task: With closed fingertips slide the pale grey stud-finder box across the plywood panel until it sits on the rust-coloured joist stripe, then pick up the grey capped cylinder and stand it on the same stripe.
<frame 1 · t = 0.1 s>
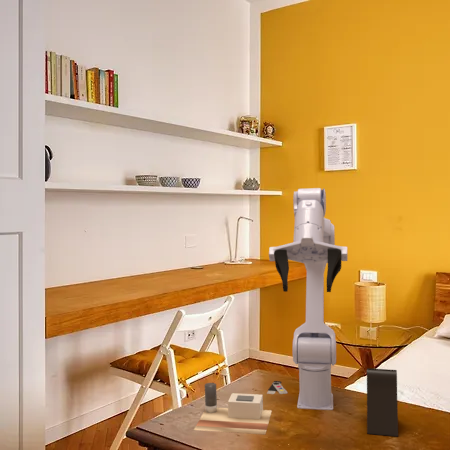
hand: (306, 288, 95), 32 cm above the table, tool tilted 50°, fingers open, 7 cm apart
phone stand: (382, 427, 111), on the table
panel: (234, 421, 115), on the table
grey capped cylinder: (211, 410, 120), resting on panel
usb flash drive: (280, 391, 133), on the table
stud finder: (245, 413, 118), resting on panel
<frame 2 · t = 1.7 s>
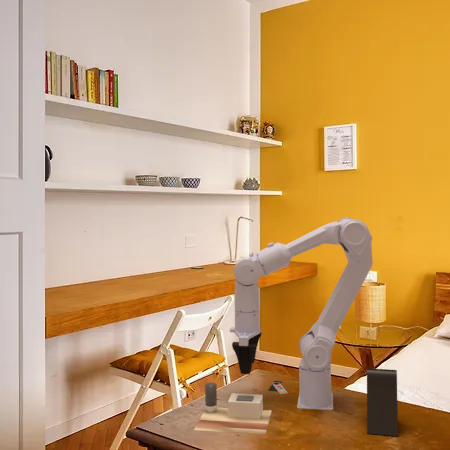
hand: (247, 368, 124), 9 cm above the table, tool pointing down, fingers open, 7 cm apart
nothing on the table moved.
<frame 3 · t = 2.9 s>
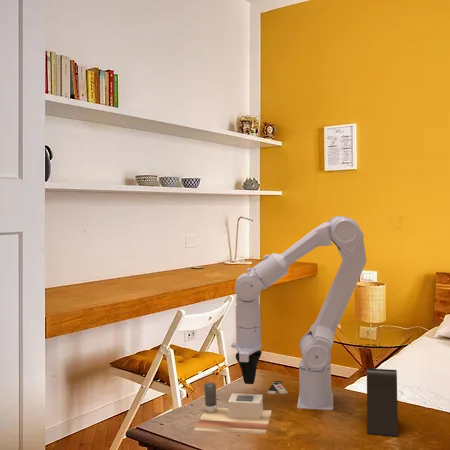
hand: (249, 383, 124), 5 cm above the table, tool pointing down, fingers closed
nothing on the table moved.
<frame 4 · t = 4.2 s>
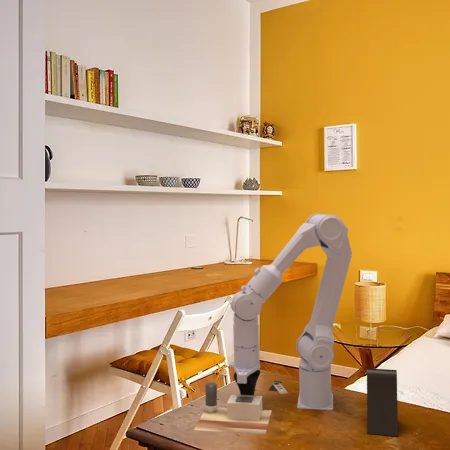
hand: (247, 403, 121), 1 cm above the table, tool pointing down, fingers closed
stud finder: (245, 414, 118), resting on panel, touching gripper
everything else where it was.
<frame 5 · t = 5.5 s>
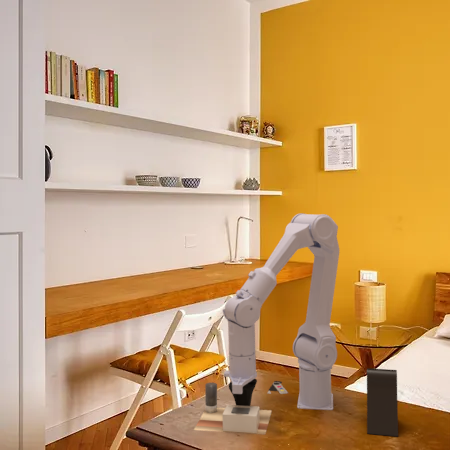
hand: (243, 414, 115), 1 cm above the table, tool pointing down, fingers closed
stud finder: (241, 426, 112), resting on panel, touching gripper
everything else where it was.
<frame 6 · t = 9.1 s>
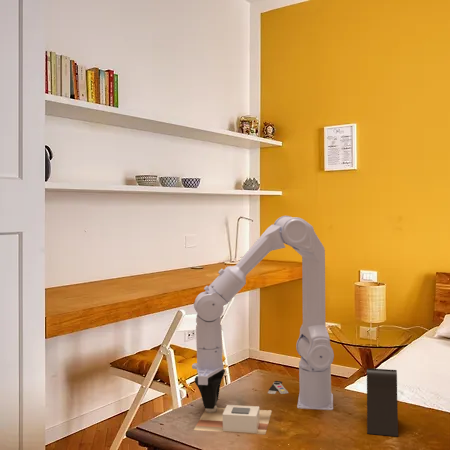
hand: (211, 405, 120), 2 cm above the table, tool pointing down, fingers closed on grey capped cylinder, 3 cm apart
grey capped cylinder: (211, 410, 120), resting on panel, touching gripper
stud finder: (241, 426, 112), resting on panel
everything else where it was.
when the fingers open (3 cm above the table, at t = 11.8 s): grey capped cylinder drops 1 cm, resting on panel.
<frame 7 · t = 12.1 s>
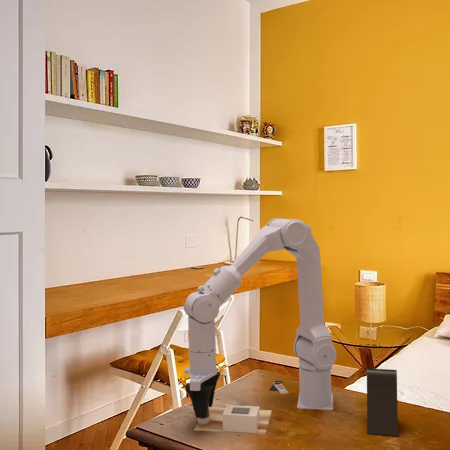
hand: (204, 411, 114), 3 cm above the table, tool pointing down, fingers open, 5 cm apart
grey capped cylinder: (204, 422, 114), resting on panel
everything else where it was.
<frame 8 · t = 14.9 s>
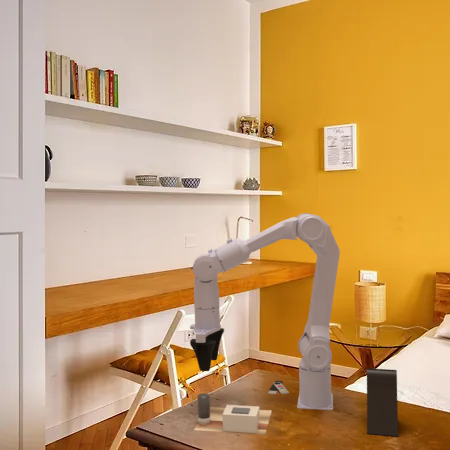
hand: (208, 365, 123), 10 cm above the table, tool pointing down, fingers open, 7 cm apart
nothing on the table moved.
at the end: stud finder inside the target area (0.5 cm from its centre), resting on panel; grey capped cylinder 0.2 cm from the target spot, resting on panel; grey capped cylinder tilted 0° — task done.
